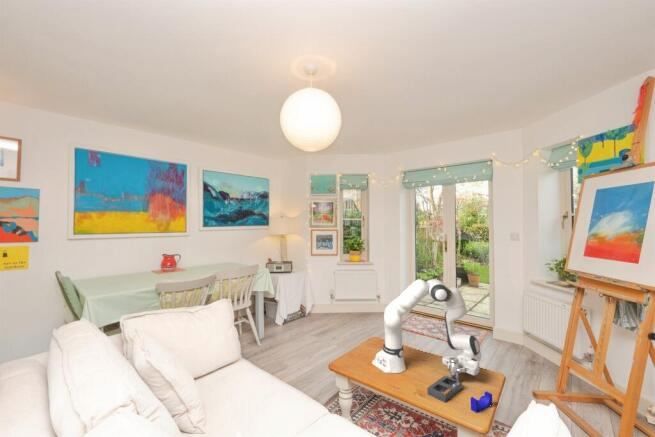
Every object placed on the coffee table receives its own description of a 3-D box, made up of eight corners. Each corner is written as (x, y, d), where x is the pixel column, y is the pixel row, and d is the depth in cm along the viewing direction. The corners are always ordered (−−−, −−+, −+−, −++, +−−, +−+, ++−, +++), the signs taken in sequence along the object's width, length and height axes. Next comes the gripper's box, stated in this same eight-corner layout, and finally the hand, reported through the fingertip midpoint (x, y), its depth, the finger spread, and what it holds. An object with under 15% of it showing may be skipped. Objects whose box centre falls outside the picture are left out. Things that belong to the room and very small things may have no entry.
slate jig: (427, 394, 158) (427, 387, 158) (445, 381, 170) (444, 375, 170) (445, 402, 150) (444, 395, 150) (462, 388, 162) (461, 381, 162)
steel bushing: (448, 381, 169) (447, 359, 169) (452, 378, 172) (451, 356, 173) (457, 385, 165) (456, 362, 166) (461, 382, 168) (460, 359, 169)
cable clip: (484, 401, 150) (483, 389, 150) (492, 406, 146) (492, 394, 146) (468, 408, 145) (467, 396, 145) (476, 413, 141) (475, 401, 141)
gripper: (448, 351, 185) (436, 357, 176) (481, 362, 170) (471, 370, 161) (448, 360, 185) (437, 368, 176) (482, 373, 169) (471, 381, 161)
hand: (453, 369), depth 168 cm, fingers closed on steel bushing, 4 cm apart
